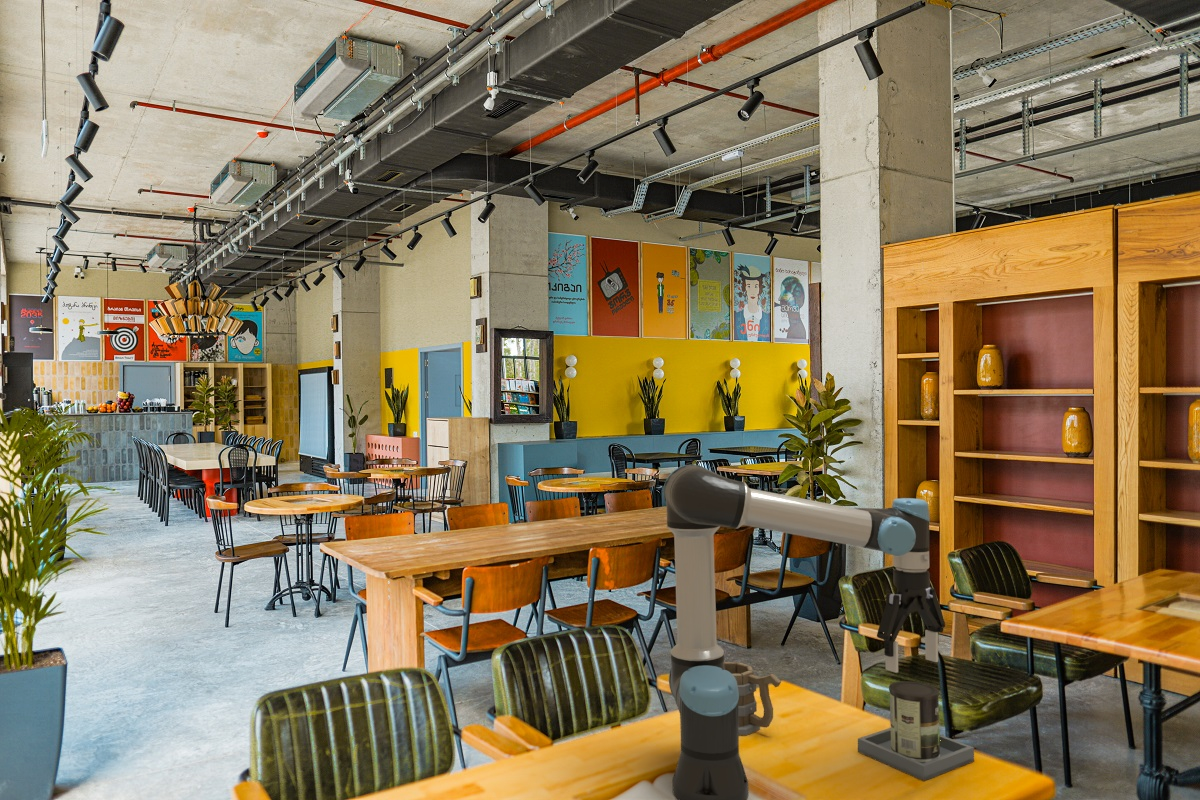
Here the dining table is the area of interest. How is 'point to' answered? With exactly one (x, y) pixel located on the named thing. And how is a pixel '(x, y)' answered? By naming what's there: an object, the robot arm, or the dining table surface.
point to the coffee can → (914, 720)
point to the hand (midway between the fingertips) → (912, 665)
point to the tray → (880, 749)
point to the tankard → (751, 697)
